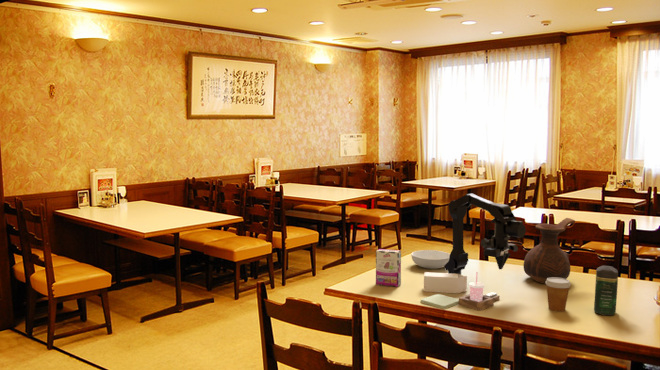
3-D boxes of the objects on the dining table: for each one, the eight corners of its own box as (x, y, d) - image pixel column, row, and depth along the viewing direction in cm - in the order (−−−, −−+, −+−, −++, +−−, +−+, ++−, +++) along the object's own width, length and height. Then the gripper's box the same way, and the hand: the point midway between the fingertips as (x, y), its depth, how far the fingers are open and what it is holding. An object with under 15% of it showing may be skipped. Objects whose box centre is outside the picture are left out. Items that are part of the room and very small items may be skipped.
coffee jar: (616, 317, 216) (618, 270, 214) (593, 314, 219) (595, 268, 217) (615, 310, 224) (618, 265, 222) (594, 307, 228) (596, 263, 226)
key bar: (491, 297, 241) (491, 292, 241) (496, 298, 239) (496, 293, 239) (483, 300, 237) (484, 294, 237) (489, 301, 235) (489, 296, 235)
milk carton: (423, 291, 250) (466, 293, 246) (423, 276, 249) (467, 278, 246) (424, 287, 257) (466, 289, 253) (424, 272, 256) (466, 274, 252)
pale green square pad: (437, 296, 243) (437, 293, 242) (461, 302, 234) (461, 300, 234) (420, 302, 235) (420, 299, 234) (444, 309, 226) (444, 306, 226)
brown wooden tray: (483, 295, 244) (484, 288, 244) (504, 300, 237) (505, 293, 236) (458, 304, 231) (458, 297, 231) (479, 310, 224) (480, 303, 223)
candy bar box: (401, 284, 261) (401, 250, 260) (398, 287, 257) (398, 252, 255) (378, 282, 265) (378, 248, 264) (375, 284, 261) (375, 250, 259)
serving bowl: (410, 271, 286) (410, 258, 285) (411, 261, 306) (411, 249, 306) (452, 272, 282) (452, 259, 282) (450, 263, 303) (450, 250, 302)
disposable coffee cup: (568, 306, 229) (569, 278, 228) (570, 313, 220) (571, 284, 219) (543, 304, 232) (545, 276, 231) (544, 311, 223) (545, 282, 222)
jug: (566, 289, 253) (569, 224, 250) (518, 282, 265) (520, 220, 262) (574, 278, 272) (576, 217, 269) (528, 272, 283) (530, 214, 280)
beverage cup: (472, 301, 235) (473, 269, 234) (486, 304, 231) (487, 271, 230) (465, 305, 230) (466, 272, 229) (479, 308, 226) (480, 275, 225)
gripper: (496, 228, 253) (495, 262, 254) (473, 234, 240) (472, 269, 242) (519, 232, 244) (517, 266, 246) (496, 237, 232) (495, 274, 233)
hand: (500, 269), depth 242 cm, fingers closed
